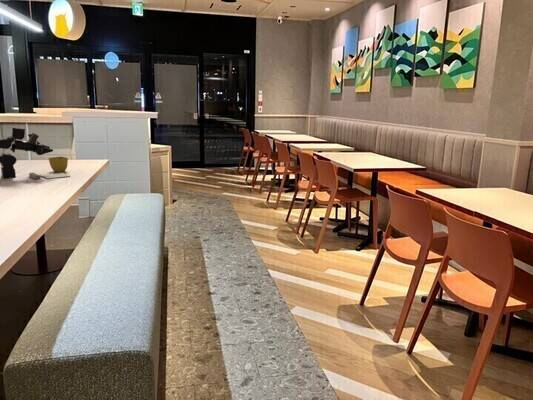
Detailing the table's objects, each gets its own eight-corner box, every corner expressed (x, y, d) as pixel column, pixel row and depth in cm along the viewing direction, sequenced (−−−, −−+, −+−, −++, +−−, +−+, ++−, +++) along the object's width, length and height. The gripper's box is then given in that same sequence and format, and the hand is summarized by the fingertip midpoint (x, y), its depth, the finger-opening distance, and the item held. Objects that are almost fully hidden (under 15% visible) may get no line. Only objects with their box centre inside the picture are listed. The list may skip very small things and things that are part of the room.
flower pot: (56, 172, 280) (54, 159, 278) (49, 171, 286) (48, 157, 283) (69, 171, 287) (68, 157, 285) (62, 169, 292) (61, 156, 290)
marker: (35, 179, 257) (35, 175, 256) (29, 176, 265) (28, 172, 265) (40, 179, 258) (40, 175, 258) (33, 176, 267) (33, 172, 266)
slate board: (47, 179, 259) (47, 178, 259) (39, 175, 269) (39, 174, 269) (70, 176, 268) (69, 175, 268) (60, 173, 278) (60, 172, 278)
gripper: (28, 135, 256) (56, 139, 266) (22, 130, 270) (49, 133, 280) (25, 153, 258) (54, 156, 268) (20, 147, 272) (47, 150, 282)
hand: (51, 149), depth 274 cm, fingers open, 9 cm apart
